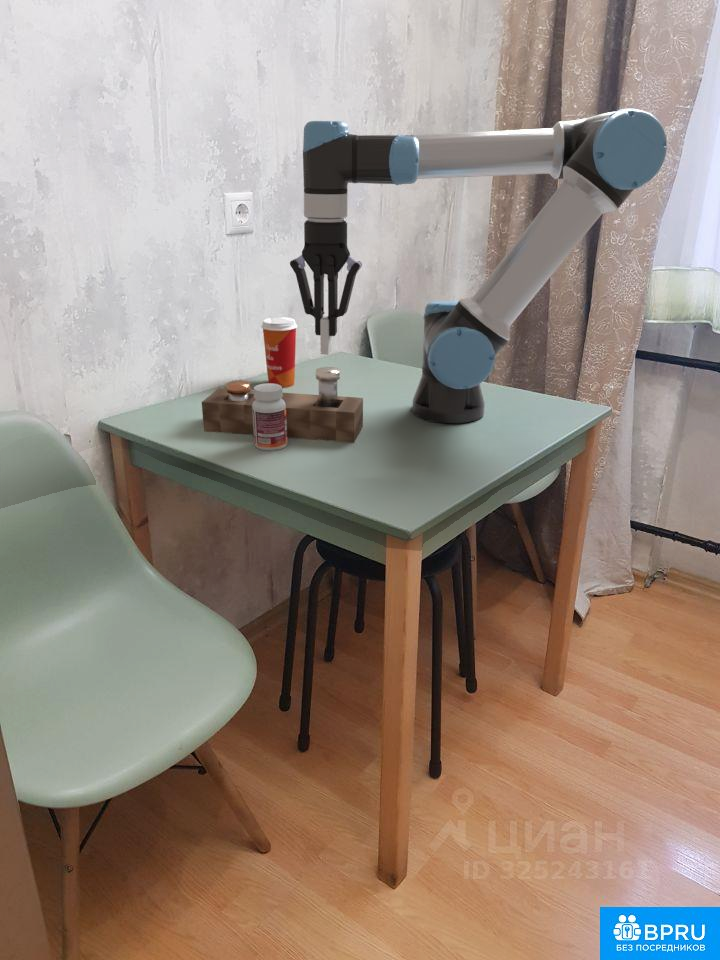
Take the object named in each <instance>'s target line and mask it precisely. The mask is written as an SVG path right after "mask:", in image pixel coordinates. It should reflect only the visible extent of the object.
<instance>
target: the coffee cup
mask: <svg viewBox="0 0 720 960" xmlns="http://www.w3.org/2000/svg"><path fill="white" fill-rule="evenodd" d="M260 327H261V329H262V333H263V341H264V342H263V343H264V353H265V363H266V370H267V380H268V383H272V384H278V385H281V386H282V389H283V388H284V389H285V388H289V387H290V388H291V387H292V386H294V385H295V378H296V377H295V375H296V373H295V372H296V371H295V370H296V342H297V339H296V338H297V337H296V336H297V328H298V324H297V323H296V319H294V318H292V317H286V316H285V317H284V316H280V317H271V318H270V317H267V318H265V319H263V321H262V324H261V326H260Z"/></svg>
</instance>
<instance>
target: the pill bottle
mask: <svg viewBox="0 0 720 960" xmlns="http://www.w3.org/2000/svg"><path fill="white" fill-rule="evenodd" d="M253 391H254V398H255V399H256V400H255V401H254V402H253V404H252V413H253V429H254V435H253V441H254V447H256V448H257V449H258V450H261V451H278V450H281V449H285V447H286V446H287V445H288V438H287V419H286V403H285V401H284V400H283V399H281V398H282V397H283V393H284V392H283V388H282V386H281V385H278V384H272V383H269V382H268V383H261V384H256V385H255V386H253Z"/></svg>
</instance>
